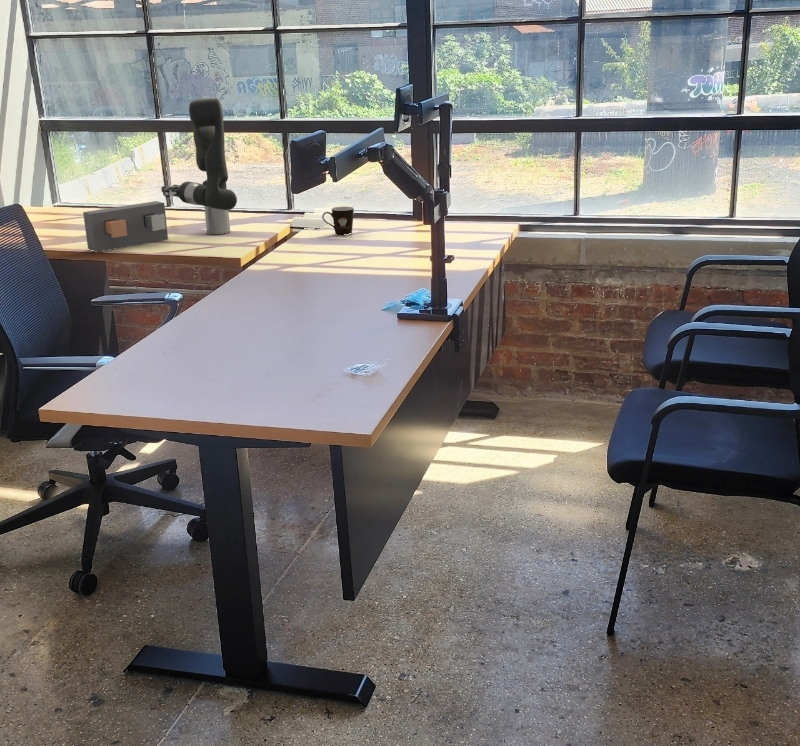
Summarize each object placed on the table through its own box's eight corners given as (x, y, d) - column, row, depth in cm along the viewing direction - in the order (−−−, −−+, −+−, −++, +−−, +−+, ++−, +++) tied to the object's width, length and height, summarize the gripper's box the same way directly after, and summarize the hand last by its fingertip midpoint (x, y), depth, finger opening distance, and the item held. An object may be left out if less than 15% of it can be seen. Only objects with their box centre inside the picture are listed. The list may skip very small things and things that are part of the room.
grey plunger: (139, 227, 348) (137, 212, 346) (152, 225, 352) (150, 210, 350) (152, 231, 342) (150, 216, 340) (165, 228, 345) (164, 213, 343)
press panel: (88, 249, 339) (83, 212, 334) (160, 236, 358) (156, 201, 353) (95, 252, 335) (90, 214, 330) (168, 239, 354) (164, 202, 349)
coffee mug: (358, 232, 360) (357, 207, 356) (348, 237, 353) (347, 211, 349) (332, 230, 364) (331, 205, 361) (321, 234, 357) (320, 209, 354)
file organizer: (289, 230, 370) (288, 217, 368) (326, 214, 401) (325, 202, 399) (319, 232, 366) (318, 219, 364) (353, 215, 396) (353, 204, 394)
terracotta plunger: (100, 234, 338) (98, 218, 336) (113, 231, 342) (112, 216, 340) (113, 237, 331) (111, 222, 329) (127, 235, 335) (125, 220, 333)
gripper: (210, 180, 323) (184, 175, 335) (175, 185, 314) (149, 180, 325) (212, 201, 326) (186, 196, 337) (177, 207, 316) (151, 201, 328)
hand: (168, 188), depth 331 cm, fingers open, 4 cm apart
